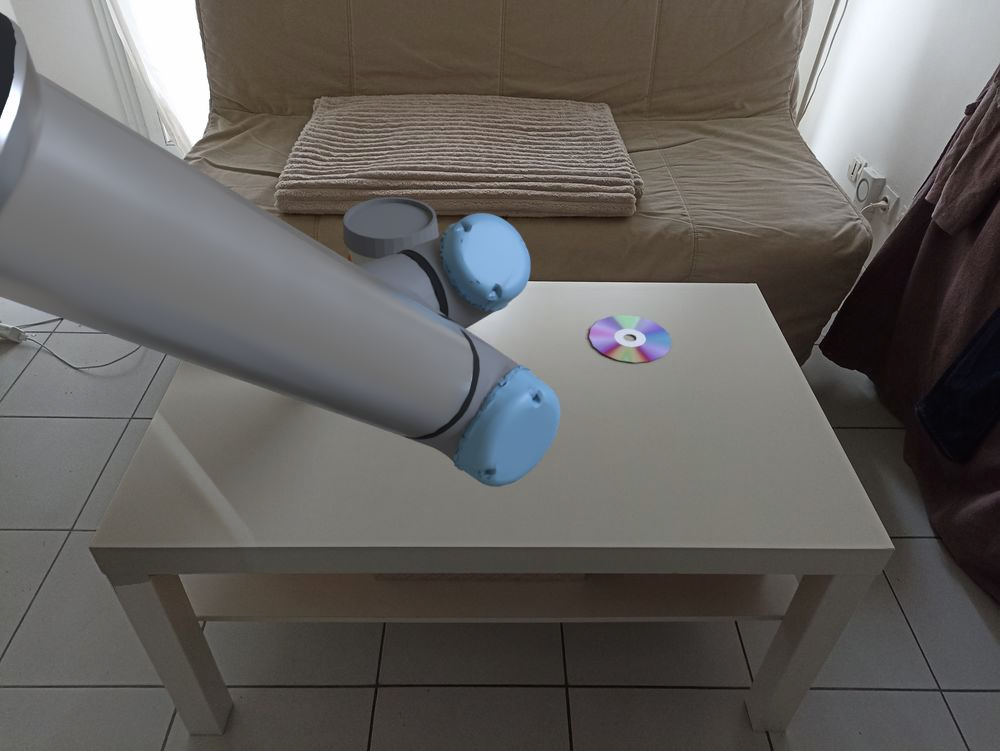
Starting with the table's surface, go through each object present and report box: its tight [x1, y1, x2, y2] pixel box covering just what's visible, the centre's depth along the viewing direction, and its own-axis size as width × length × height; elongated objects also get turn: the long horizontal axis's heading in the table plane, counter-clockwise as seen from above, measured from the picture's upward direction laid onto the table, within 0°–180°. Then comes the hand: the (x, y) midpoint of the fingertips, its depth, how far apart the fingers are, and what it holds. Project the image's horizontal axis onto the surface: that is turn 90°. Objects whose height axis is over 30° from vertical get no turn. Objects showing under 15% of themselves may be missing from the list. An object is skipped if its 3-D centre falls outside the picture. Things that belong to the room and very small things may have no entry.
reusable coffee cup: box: [342, 196, 440, 266], centre depth 102 cm, size 13×13×15 cm
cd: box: [588, 314, 672, 364], centre depth 103 cm, size 11×11×1 cm
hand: (337, 372), depth 90 cm, fingers closed
